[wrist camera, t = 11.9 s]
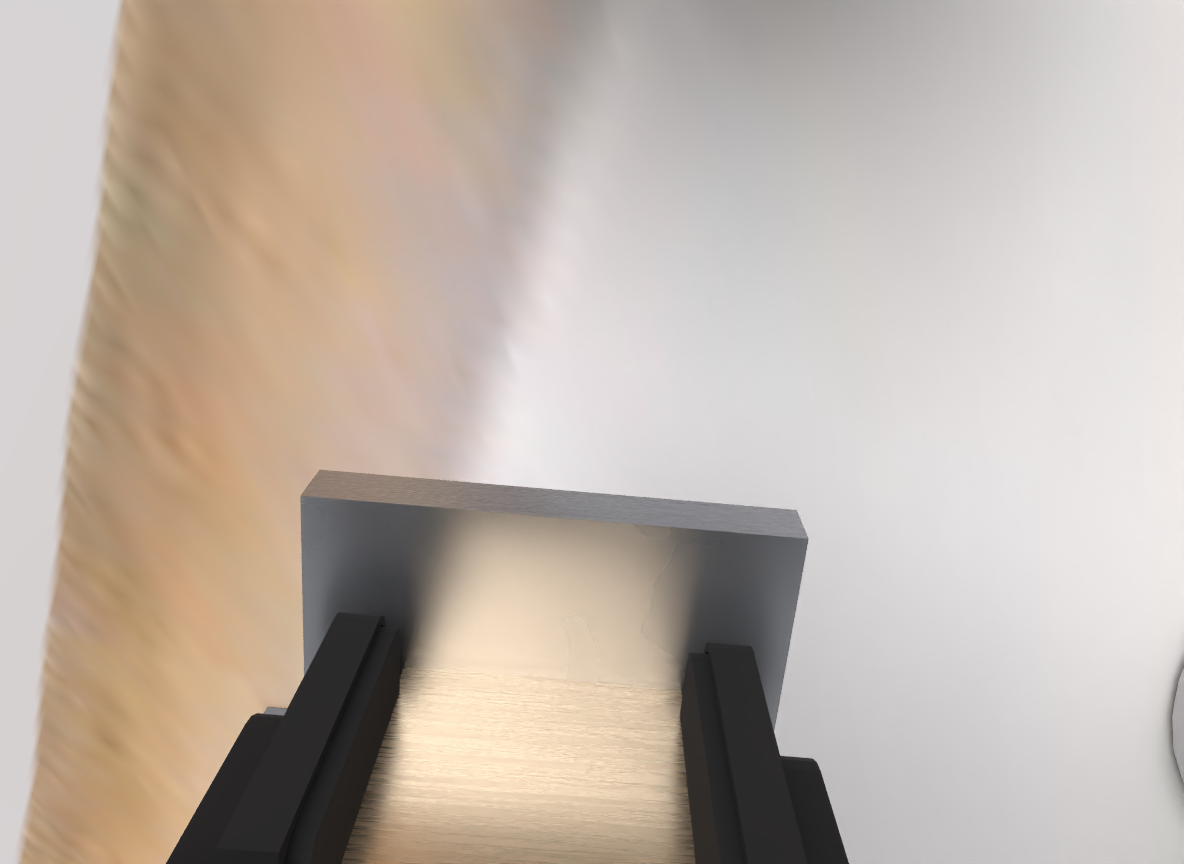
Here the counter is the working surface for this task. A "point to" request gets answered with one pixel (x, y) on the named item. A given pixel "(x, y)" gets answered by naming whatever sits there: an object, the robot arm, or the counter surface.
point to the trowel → (540, 657)
